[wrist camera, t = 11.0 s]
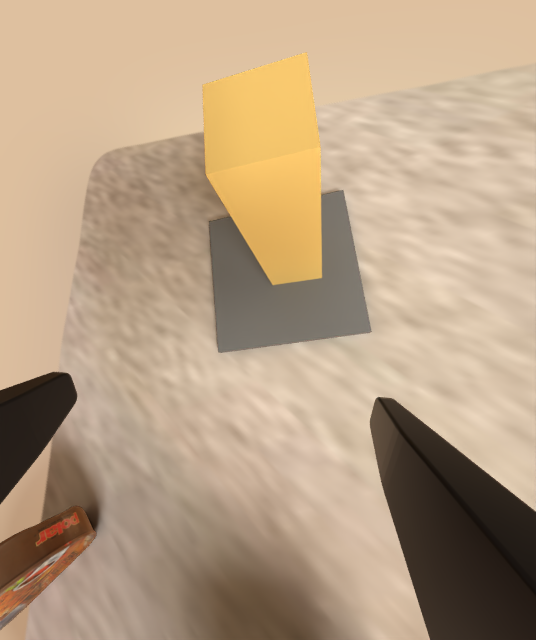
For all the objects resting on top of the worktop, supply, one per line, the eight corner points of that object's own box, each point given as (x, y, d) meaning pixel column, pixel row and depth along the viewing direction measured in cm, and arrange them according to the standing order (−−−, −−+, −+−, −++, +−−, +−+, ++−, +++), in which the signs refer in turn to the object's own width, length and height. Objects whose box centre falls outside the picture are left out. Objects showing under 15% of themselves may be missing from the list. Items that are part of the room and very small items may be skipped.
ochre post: (321, 278, 20) (320, 146, 8) (272, 285, 21) (205, 174, 9) (316, 232, 21) (306, 52, 9) (268, 240, 22) (202, 84, 10)
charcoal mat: (342, 194, 22) (343, 189, 21) (370, 332, 19) (371, 331, 19) (211, 225, 24) (208, 221, 23) (221, 352, 22) (218, 352, 21)
